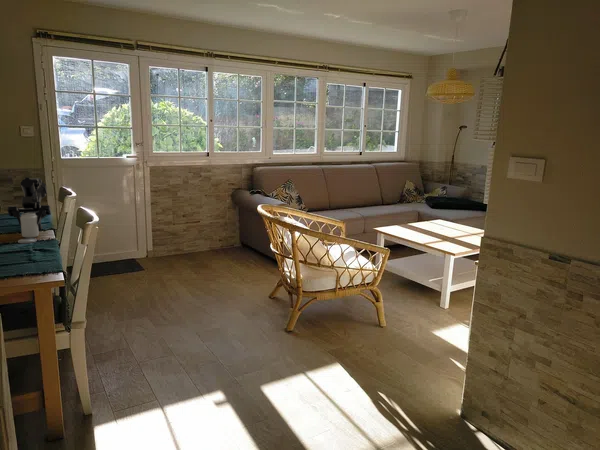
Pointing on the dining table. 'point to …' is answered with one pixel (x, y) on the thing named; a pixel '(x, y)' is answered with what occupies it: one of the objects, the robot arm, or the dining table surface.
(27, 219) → the can
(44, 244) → the dining table surface
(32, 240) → the coaster
